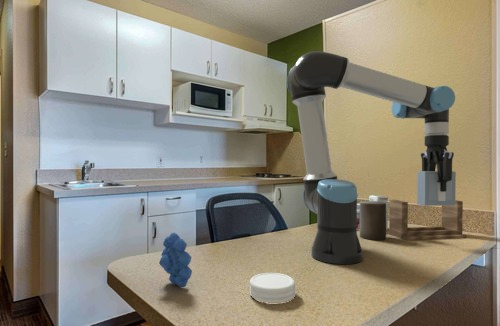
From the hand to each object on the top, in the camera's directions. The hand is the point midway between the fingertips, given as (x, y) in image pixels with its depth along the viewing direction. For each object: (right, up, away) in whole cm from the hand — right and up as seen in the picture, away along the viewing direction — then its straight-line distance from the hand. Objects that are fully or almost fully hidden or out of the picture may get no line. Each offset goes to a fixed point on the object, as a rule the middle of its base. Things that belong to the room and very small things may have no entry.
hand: (436, 199), depth 114 cm
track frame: (+3, -16, +13) cm, 21 cm away
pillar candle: (-19, -16, +9) cm, 27 cm away
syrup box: (-11, -16, +25) cm, 31 cm away
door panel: (0, -2, 0) cm, 2 cm away
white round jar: (-62, -16, -45) cm, 78 cm away
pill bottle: (-20, -16, +23) cm, 34 cm away
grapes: (-85, -16, -40) cm, 95 cm away
